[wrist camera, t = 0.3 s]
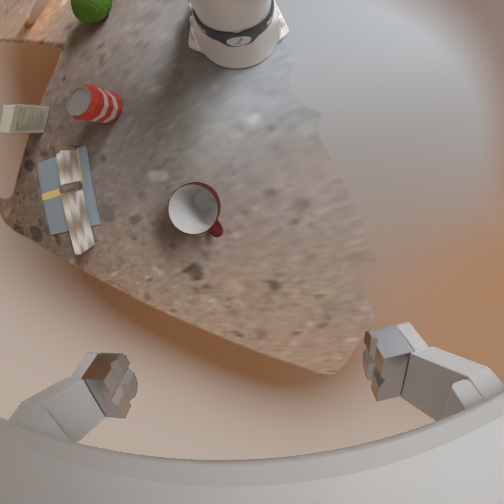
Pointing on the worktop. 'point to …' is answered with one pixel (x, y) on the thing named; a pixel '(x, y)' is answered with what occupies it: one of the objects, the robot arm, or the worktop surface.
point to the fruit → (91, 9)
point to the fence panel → (78, 221)
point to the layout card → (54, 197)
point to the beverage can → (94, 104)
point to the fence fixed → (68, 168)
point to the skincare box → (23, 119)
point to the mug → (195, 209)
